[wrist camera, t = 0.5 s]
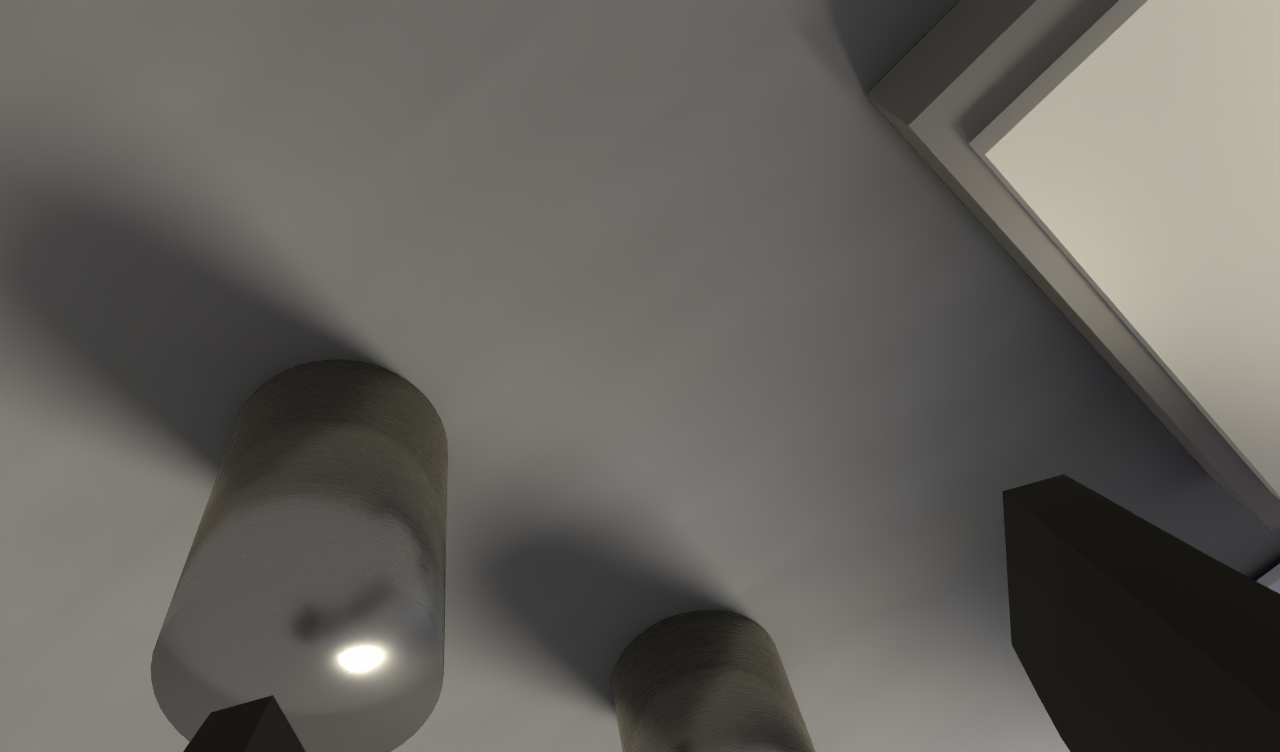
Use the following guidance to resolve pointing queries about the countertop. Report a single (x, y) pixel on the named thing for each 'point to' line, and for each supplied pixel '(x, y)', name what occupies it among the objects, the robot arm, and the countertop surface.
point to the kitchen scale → (1128, 193)
